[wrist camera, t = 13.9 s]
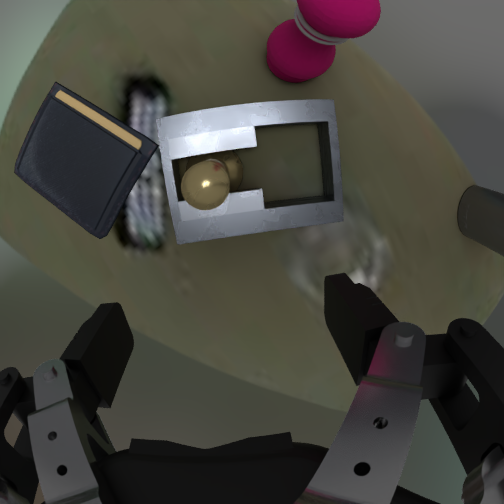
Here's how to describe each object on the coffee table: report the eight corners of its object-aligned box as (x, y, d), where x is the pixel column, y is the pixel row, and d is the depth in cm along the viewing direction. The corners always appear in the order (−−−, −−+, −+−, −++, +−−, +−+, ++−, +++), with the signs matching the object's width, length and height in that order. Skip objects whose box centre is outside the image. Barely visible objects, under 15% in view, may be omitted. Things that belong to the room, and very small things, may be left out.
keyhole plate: (322, 104, 30) (333, 99, 26) (332, 213, 35) (343, 221, 31) (164, 122, 29) (155, 119, 25) (182, 234, 34) (177, 244, 30)
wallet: (7, 171, 27) (53, 75, 23) (14, 169, 29) (60, 78, 25) (98, 248, 32) (159, 147, 29) (103, 243, 34) (163, 147, 31)
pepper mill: (262, 33, 26) (300, -68, 7) (320, 40, 26) (402, -37, 8) (261, 84, 28) (306, 6, 10) (321, 89, 29) (420, 39, 10)
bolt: (238, 141, 31) (245, 134, 18) (245, 194, 33) (256, 223, 20) (184, 149, 30) (153, 150, 18) (192, 202, 33) (169, 236, 20)
